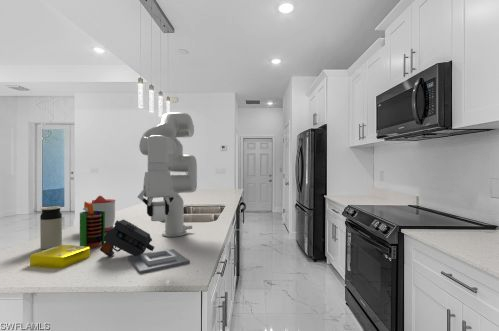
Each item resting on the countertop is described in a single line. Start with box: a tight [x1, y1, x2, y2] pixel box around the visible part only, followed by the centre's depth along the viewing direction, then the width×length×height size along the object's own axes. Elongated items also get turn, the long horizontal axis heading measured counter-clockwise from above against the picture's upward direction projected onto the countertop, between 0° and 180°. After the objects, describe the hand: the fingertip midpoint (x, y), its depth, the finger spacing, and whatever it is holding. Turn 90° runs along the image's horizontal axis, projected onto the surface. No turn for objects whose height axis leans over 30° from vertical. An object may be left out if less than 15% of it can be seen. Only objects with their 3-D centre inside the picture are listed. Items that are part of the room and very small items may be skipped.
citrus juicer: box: [82, 195, 116, 233], centre depth 161 cm, size 16×17×20 cm
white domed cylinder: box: [150, 200, 165, 222], centre depth 110 cm, size 5×5×7 cm
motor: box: [79, 201, 106, 250], centre depth 130 cm, size 10×9×20 cm
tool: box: [99, 219, 155, 258], centre depth 117 cm, size 6×19×15 cm, turn 95°
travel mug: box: [39, 205, 63, 251], centre depth 129 cm, size 8×8×18 cm
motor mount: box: [128, 249, 191, 274], centre depth 110 cm, size 18×18×2 cm
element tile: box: [29, 244, 91, 270], centre depth 111 cm, size 15×15×5 cm
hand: (158, 214), depth 110 cm, fingers closed on white domed cylinder, 5 cm apart
